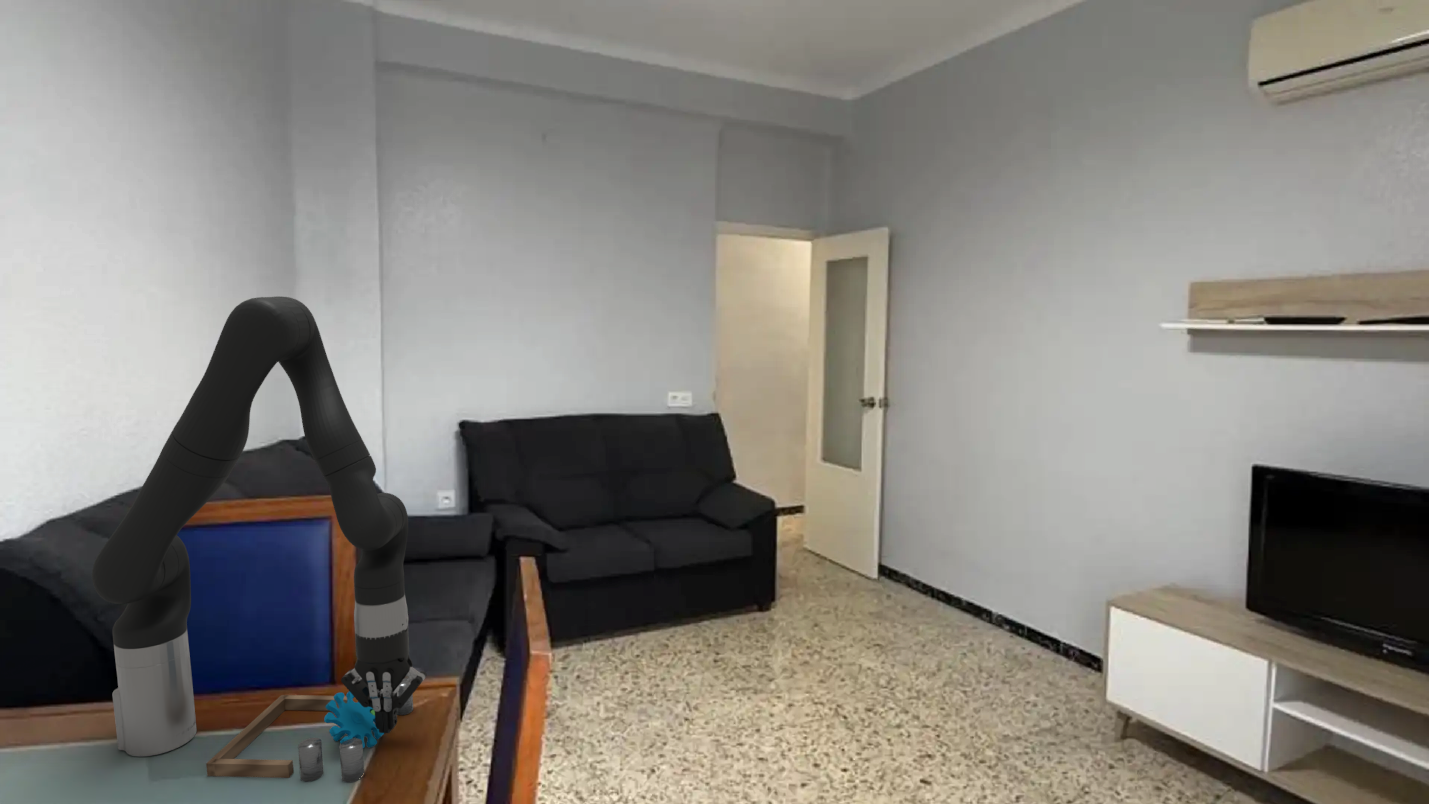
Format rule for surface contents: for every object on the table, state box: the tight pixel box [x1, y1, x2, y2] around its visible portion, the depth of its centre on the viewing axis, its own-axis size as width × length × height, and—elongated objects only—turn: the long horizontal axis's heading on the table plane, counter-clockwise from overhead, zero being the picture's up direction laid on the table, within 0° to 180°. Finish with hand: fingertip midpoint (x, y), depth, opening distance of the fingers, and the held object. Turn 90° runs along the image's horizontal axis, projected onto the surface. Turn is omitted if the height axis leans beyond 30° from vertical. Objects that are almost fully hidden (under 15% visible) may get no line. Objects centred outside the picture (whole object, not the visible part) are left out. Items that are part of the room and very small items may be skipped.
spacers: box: [297, 677, 414, 783], centre depth 124 cm, size 9×21×5 cm, turn 179°
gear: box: [323, 690, 385, 749], centre depth 124 cm, size 11×6×10 cm
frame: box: [205, 694, 347, 779], centre depth 124 cm, size 12×19×2 cm, turn 179°
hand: (387, 730), depth 124 cm, fingers closed
